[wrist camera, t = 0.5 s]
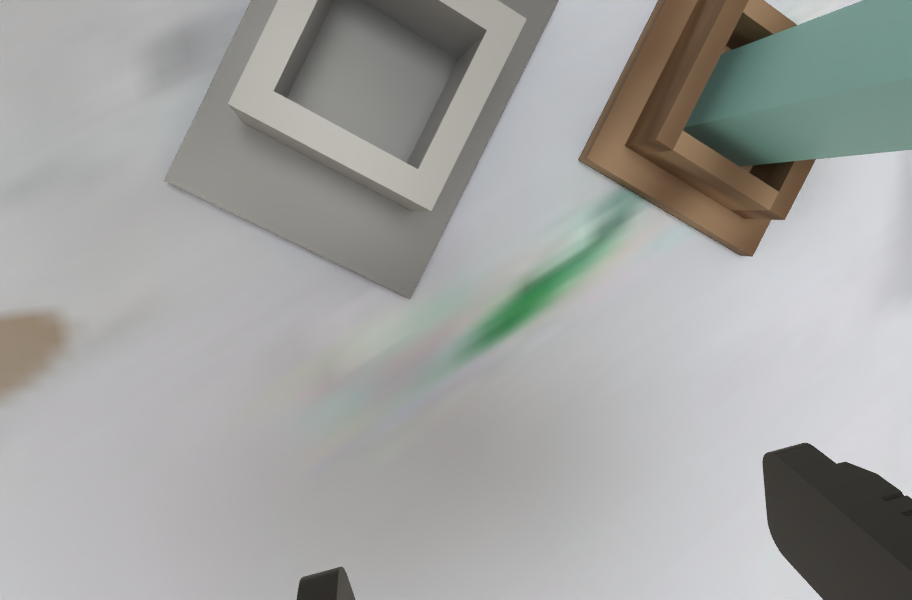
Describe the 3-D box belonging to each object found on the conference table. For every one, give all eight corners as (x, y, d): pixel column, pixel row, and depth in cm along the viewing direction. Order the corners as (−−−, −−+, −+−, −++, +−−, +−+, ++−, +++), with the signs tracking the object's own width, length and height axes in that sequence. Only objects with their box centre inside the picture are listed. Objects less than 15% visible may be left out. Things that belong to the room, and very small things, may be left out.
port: (168, 181, 28) (132, 174, 23) (326, -145, 28) (330, -237, 22) (406, 296, 32) (428, 316, 26) (552, 3, 31) (607, -44, 25)
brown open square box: (578, 159, 33) (614, 153, 29) (676, -36, 32) (726, -70, 28) (740, 255, 35) (792, 260, 32) (832, 76, 35) (896, 60, 31)
